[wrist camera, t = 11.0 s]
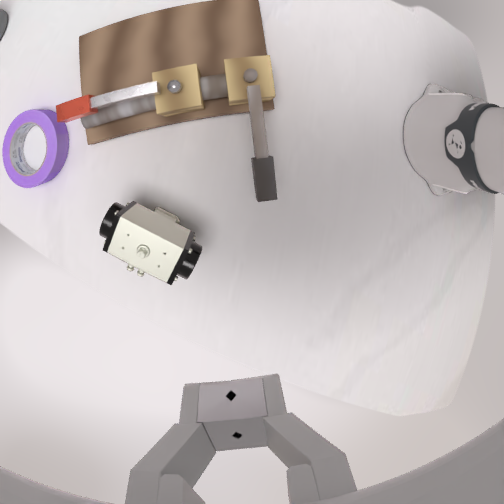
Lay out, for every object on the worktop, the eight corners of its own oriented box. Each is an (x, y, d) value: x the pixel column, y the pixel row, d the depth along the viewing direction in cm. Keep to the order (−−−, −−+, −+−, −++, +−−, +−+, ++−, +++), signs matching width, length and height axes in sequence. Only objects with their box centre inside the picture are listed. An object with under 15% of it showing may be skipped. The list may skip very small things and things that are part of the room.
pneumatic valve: (134, 188, 38) (100, 210, 27) (207, 226, 41) (200, 261, 30) (120, 222, 39) (86, 254, 28) (190, 258, 42) (178, 301, 31)
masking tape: (74, 174, 36) (62, 178, 33) (21, 190, 36) (8, 195, 32) (66, 100, 32) (53, 98, 28) (13, 123, 31) (-1, 124, 28)
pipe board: (256, 2, 29) (264, -32, 19) (279, 182, 39) (296, 197, 30) (85, 40, 28) (51, 21, 19) (107, 210, 38) (76, 233, 29)
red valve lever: (67, 106, 26) (56, 105, 23) (181, 78, 26) (177, 73, 24) (69, 122, 27) (57, 122, 24) (182, 95, 27) (178, 91, 25)
